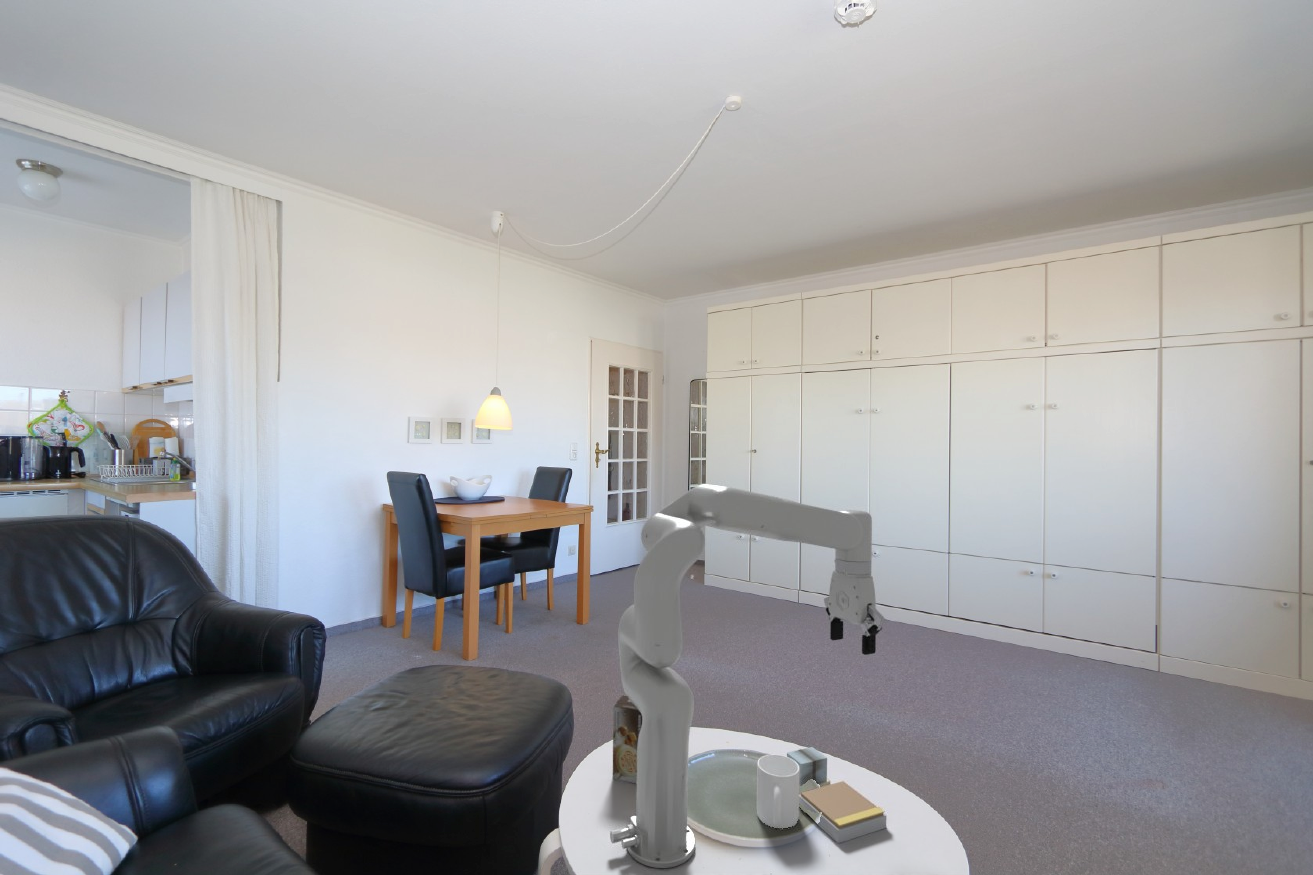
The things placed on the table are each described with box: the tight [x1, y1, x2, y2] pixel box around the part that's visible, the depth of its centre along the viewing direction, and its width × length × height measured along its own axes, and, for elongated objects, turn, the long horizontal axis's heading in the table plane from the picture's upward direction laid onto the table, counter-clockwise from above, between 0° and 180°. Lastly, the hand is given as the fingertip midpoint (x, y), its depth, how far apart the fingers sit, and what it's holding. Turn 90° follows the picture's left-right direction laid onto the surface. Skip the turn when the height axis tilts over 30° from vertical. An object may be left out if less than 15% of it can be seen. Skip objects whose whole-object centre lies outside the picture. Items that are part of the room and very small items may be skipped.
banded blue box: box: [786, 746, 831, 787], centre depth 127 cm, size 9×5×6 cm, turn 114°
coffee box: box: [612, 695, 642, 784], centre depth 129 cm, size 9×6×16 cm
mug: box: [756, 753, 800, 830], centre depth 113 cm, size 12×8×10 cm
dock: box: [799, 780, 887, 844], centre depth 115 cm, size 12×12×3 cm
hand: (852, 646), depth 125 cm, fingers open, 9 cm apart
